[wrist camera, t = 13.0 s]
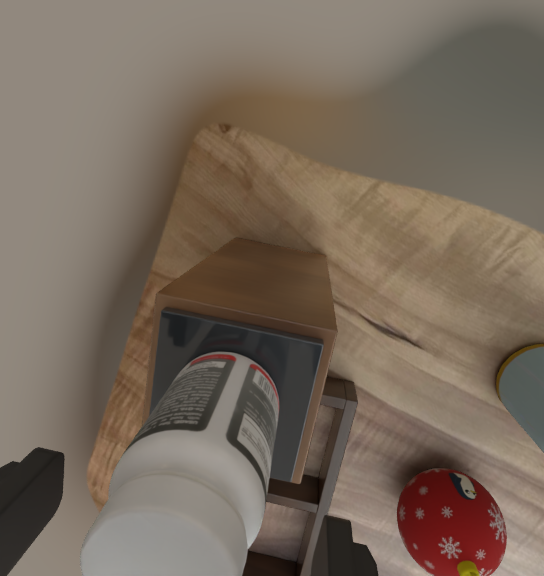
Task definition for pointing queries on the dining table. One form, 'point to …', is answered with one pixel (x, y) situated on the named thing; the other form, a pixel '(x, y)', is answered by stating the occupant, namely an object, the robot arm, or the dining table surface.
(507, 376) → the bottle
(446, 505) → the christmas ornament
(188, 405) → the pill bottle
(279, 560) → the rack
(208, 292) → the riser
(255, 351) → the coaster
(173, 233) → the dining table surface
